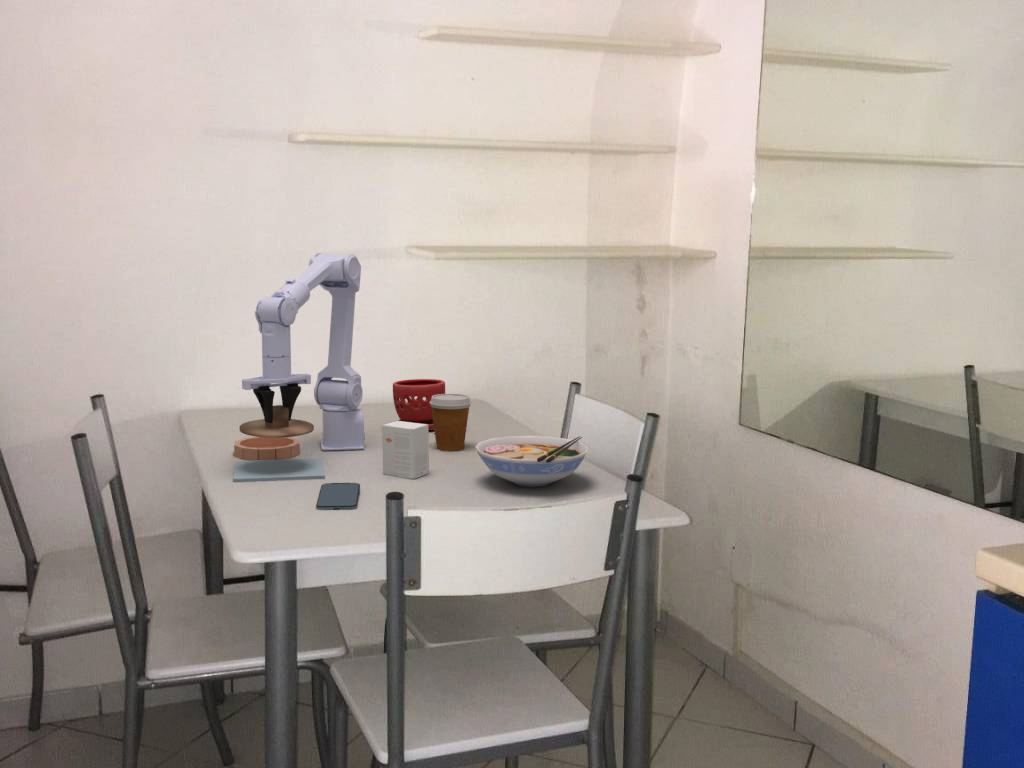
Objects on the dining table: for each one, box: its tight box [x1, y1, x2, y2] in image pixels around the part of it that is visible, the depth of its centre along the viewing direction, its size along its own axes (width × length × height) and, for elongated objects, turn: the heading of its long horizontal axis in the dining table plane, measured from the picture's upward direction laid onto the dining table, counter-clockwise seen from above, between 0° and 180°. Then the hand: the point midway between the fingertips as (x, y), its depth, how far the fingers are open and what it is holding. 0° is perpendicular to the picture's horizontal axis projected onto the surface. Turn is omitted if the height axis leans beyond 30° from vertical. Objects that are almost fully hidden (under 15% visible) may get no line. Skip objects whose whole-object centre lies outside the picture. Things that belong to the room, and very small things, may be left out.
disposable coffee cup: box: [430, 393, 472, 452], centre depth 243 cm, size 10×10×12 cm
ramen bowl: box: [474, 435, 589, 488], centre depth 213 cm, size 25×23×8 cm
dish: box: [233, 436, 300, 461], centre depth 236 cm, size 14×14×2 cm
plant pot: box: [392, 378, 446, 432], centre depth 266 cm, size 13×13×12 cm
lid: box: [239, 404, 315, 438], centre depth 219 cm, size 15×15×5 cm
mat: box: [232, 457, 326, 483], centre depth 221 cm, size 18×16×1 cm
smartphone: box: [315, 482, 361, 511], centre depth 200 cm, size 8×2×15 cm
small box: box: [381, 420, 430, 480], centre depth 219 cm, size 8×6×10 cm
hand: (277, 421), depth 219 cm, fingers closed on lid, 3 cm apart
